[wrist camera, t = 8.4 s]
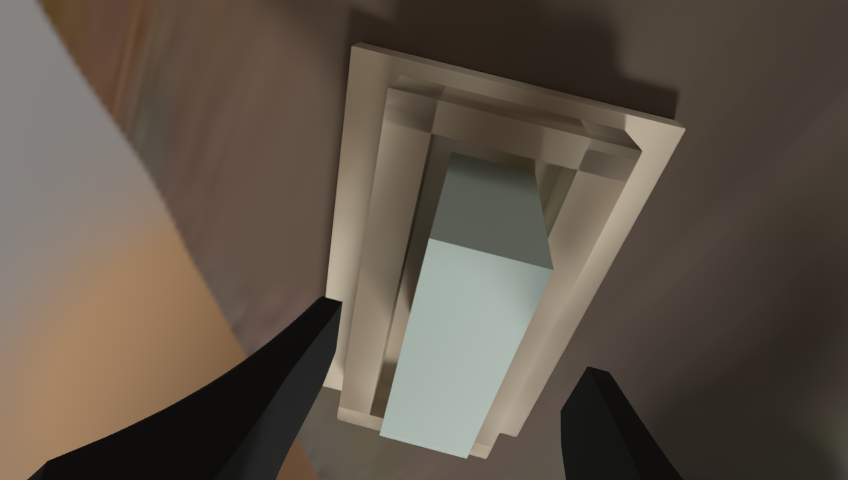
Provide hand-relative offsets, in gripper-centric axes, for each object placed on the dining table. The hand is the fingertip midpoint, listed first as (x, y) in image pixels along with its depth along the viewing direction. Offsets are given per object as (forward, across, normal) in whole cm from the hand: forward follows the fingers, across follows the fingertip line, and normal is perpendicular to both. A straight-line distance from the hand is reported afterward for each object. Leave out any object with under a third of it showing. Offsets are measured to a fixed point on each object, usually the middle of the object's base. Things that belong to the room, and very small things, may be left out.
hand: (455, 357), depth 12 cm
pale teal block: (+6, 0, 0) cm, 6 cm away
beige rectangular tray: (+7, 0, +2) cm, 7 cm away
